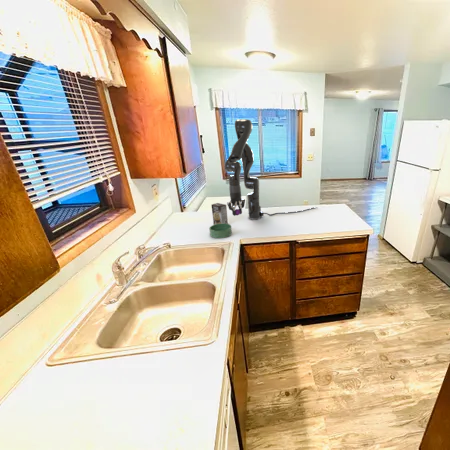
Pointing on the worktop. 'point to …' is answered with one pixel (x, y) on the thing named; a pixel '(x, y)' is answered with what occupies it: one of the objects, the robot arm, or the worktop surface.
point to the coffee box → (219, 213)
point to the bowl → (220, 230)
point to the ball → (237, 211)
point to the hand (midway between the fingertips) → (237, 214)
